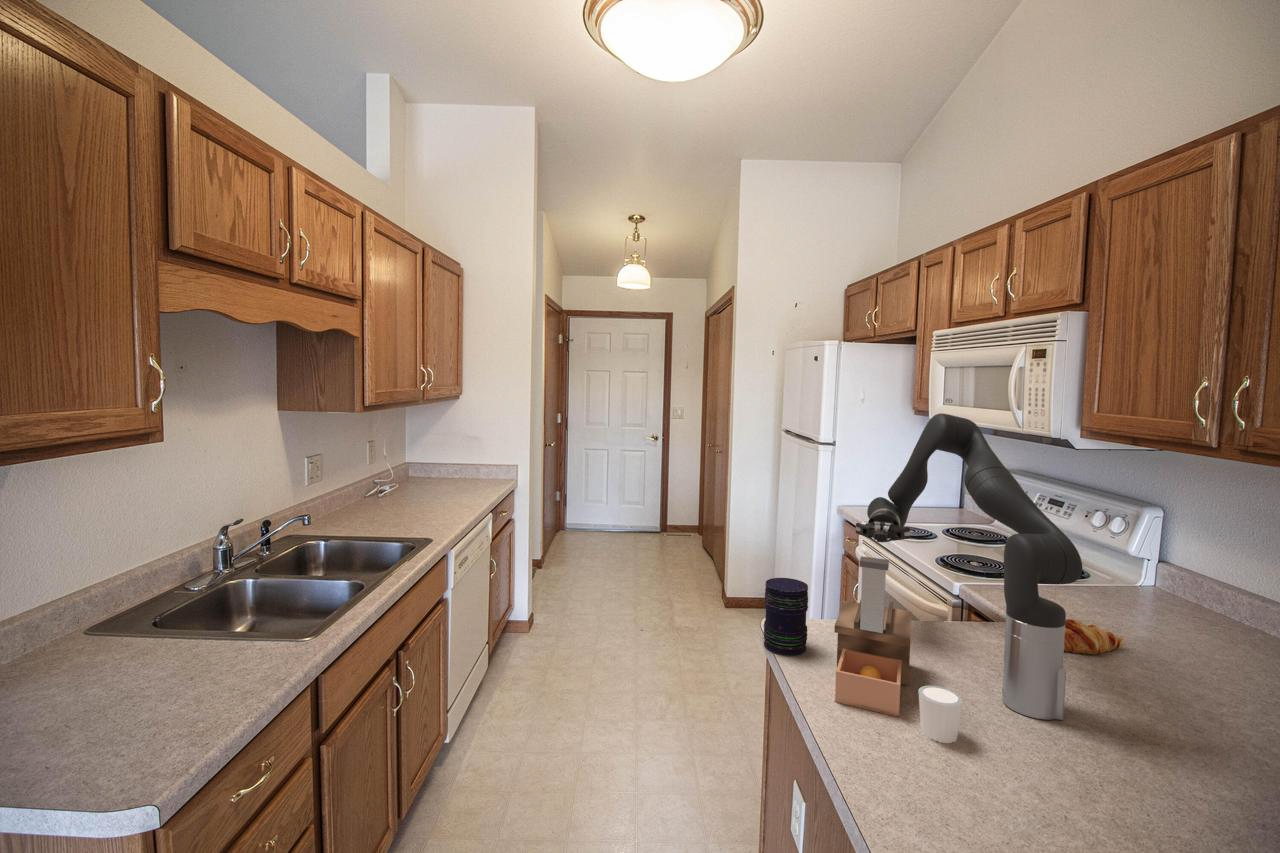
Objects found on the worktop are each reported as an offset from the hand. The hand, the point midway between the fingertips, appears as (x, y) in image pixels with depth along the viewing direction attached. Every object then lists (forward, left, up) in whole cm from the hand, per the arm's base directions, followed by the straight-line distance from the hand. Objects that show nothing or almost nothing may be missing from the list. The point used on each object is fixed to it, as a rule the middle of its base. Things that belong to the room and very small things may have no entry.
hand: (880, 537), depth 132 cm
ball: (0, +21, -24) cm, 32 cm away
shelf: (0, +14, -26) cm, 30 cm away
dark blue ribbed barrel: (+19, +10, -26) cm, 34 cm away
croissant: (-43, -23, -27) cm, 56 cm away
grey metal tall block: (0, +21, -14) cm, 25 cm away
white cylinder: (-12, +32, -26) cm, 43 cm away
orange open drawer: (0, +24, -26) cm, 35 cm away
